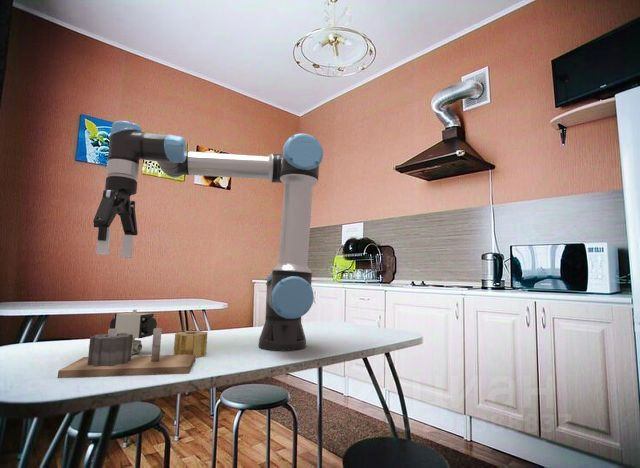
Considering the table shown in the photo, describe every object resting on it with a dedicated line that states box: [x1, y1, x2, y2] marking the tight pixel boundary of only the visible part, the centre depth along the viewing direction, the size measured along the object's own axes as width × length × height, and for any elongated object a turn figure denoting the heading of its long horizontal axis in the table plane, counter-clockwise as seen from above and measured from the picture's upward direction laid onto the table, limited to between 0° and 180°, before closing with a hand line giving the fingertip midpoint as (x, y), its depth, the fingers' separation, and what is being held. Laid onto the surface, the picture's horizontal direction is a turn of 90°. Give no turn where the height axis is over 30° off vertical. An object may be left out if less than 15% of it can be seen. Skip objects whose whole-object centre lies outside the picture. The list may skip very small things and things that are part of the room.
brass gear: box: [173, 330, 209, 359], centre depth 99 cm, size 8×8×6 cm
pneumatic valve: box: [109, 309, 158, 356], centre depth 100 cm, size 6×12×12 cm, turn 79°
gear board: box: [57, 327, 196, 379], centre depth 84 cm, size 26×13×9 cm, turn 103°
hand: (115, 256), depth 94 cm, fingers open, 13 cm apart
